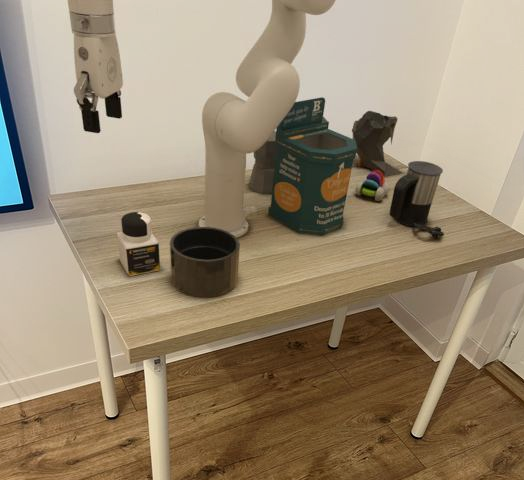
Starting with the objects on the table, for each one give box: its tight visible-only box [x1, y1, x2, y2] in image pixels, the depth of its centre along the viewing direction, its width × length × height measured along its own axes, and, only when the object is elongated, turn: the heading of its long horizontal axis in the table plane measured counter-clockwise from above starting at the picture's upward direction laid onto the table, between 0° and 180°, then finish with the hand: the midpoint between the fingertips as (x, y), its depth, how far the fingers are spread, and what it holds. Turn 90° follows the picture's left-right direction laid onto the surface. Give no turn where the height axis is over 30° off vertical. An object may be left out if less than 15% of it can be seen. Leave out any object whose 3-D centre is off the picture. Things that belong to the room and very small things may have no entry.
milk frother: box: [389, 160, 445, 238], centre depth 139 cm, size 14×16×15 cm
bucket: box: [169, 226, 241, 298], centre depth 113 cm, size 14×14×9 cm
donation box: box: [267, 97, 357, 236], centre depth 133 cm, size 16×16×28 cm
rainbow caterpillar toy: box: [354, 170, 391, 202], centre depth 155 cm, size 8×10×7 cm
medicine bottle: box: [116, 211, 161, 277], centre depth 114 cm, size 7×7×12 cm
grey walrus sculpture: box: [351, 110, 403, 178], centre depth 169 cm, size 14×15×18 cm
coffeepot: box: [248, 130, 276, 195], centre depth 149 cm, size 15×9×18 cm, turn 37°
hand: (103, 124), depth 104 cm, fingers open, 9 cm apart
